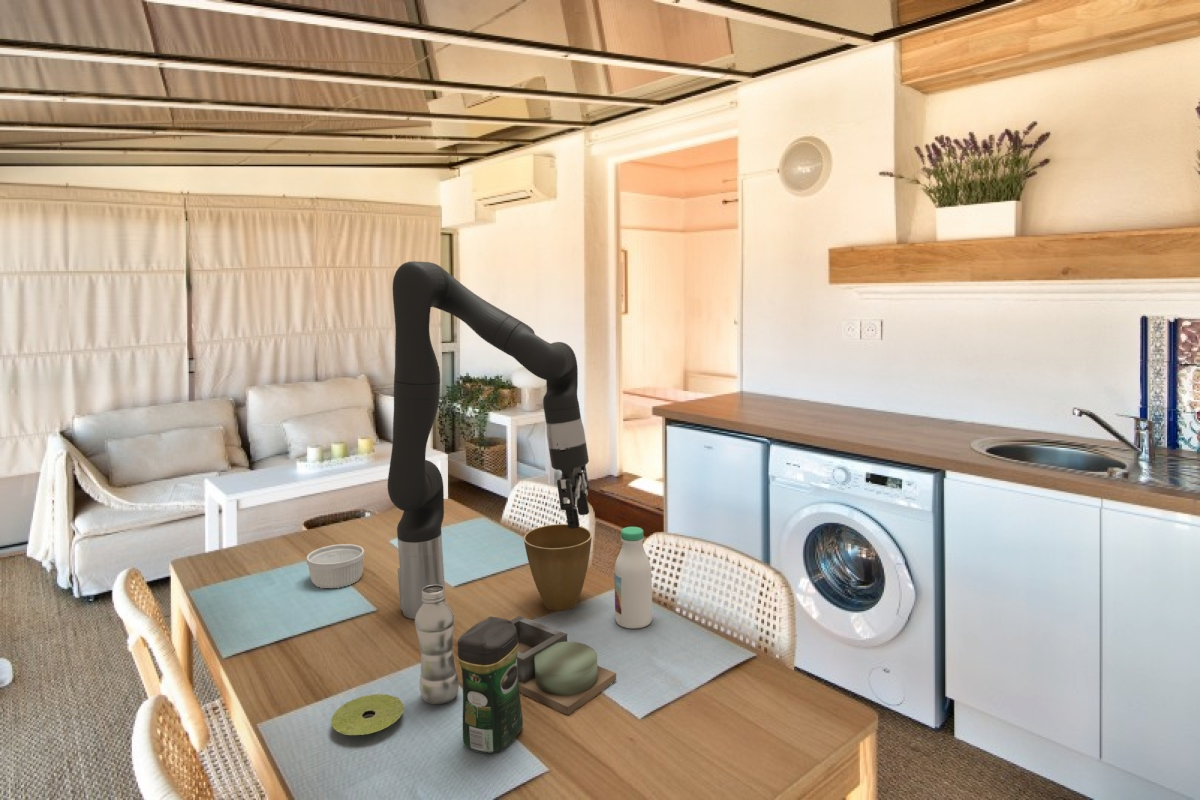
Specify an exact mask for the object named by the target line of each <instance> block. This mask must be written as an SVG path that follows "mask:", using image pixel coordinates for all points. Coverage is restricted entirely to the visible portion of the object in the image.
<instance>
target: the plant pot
mask: <svg viewBox="0 0 1200 800" xmlns="http://www.w3.org/2000/svg"><path fill="white" fill-rule="evenodd" d="M592 538H593V534H592V532H591V530H589V529H588V528H586V527H585V526H581V525H580V526H579V527H578V528H574V529H570V528H568V524H567V523H559V524H558V523H556V524H548V525H547V524H546V525H542V526H539V527H536V528H533V529H531V530H529V531H528V532H526V533H525V534H524V536H523V542H524V547H525V553H526V557H527V561H528V565H529V568H530V572H531V575H532V579H533V582H534V584H535V587H536V589H537V592H538V595H539V597H540V600H541V602H542V603H543V605H544V607H545V608H546V609H548V610H550V611H554V612H555V611H559V612H560V611H568V610H571V609H573V608H574V607H576V606H577V604H578V603H579V599H580V596H581V593H582V590H583V588H584V583H585V580H586V576H587V571H588V567H589V562H590V555H591V548H592V547H591V546H592Z"/></svg>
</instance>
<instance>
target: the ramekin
mask: <svg viewBox="0 0 1200 800" xmlns="http://www.w3.org/2000/svg"><path fill="white" fill-rule="evenodd" d="M364 558H365V550H364V548H363V547H362V546H360V545H358V544H357V545H356V544H351V543H342V544H341V543H339V544H332V545H326V546H323V547H320V548H317V549H314V550H313V551H310V553H308V554H307V556H306V565H307V567H308V571H309V576H310V580H311V582H312V584H313V585H314V586H316V588H319V587H320V588H319V589H323V588H337V589H339V588H338V587H342V588H344V587H343V586H346V587H348V586H347V585H349V586H352V585H354V584H355V582H356V583H357V582H358V581H359V580H360V579H361V578H362V575H363V573H364V571H363V569H364ZM353 583H354V584H353ZM351 584H352V585H351Z"/></svg>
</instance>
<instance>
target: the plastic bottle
mask: <svg viewBox="0 0 1200 800" xmlns="http://www.w3.org/2000/svg"><path fill="white" fill-rule="evenodd" d="M444 600H445V601H444ZM422 602H424V603H423V604H422V606H421V607H420V609H419V610H418V612H417V614H416V617H415V619H414V624H415V630H416V634H417V637H418V643H419V650H420V677H419V691H420V695H421V698H422V699H423V700H424V701H425V702H427V704H431V705H442V704H446V703H449V702H450V701H452V700H454V699H455V698H456V696H457V694H458V693H459V687H460V679H459V675H458V671H457V668H456V662H455V655H454V630H455V615H454V611H453V609H452V608H451V607H450V605H449V604H448V603H447V601H446V588H445V589H444V587H443V586H442V585H429V586H426V587H424V588H423V589H422Z"/></svg>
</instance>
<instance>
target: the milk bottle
mask: <svg viewBox="0 0 1200 800" xmlns="http://www.w3.org/2000/svg"><path fill="white" fill-rule="evenodd" d="M620 532H621V533H620V535H621V536H620V537H621V539H620V540H621V542H622V545H621V549H620V551H619V553H618V556H617V558H616V561H615V564H614V613H615V615H614V617H615V622H616V624H618V625H619V626H620V627H623V628H625V629H633V630H634V629H642V628H646V627H647V626H649V625H650V624H651V622H652V620H653V592H652V591H653V587H652V584H653V583H652V580H653V579H652V568H651V567H652V566H651V563H650V562H651V561H650V559H649V557H648V555H647V553H646V551H645V547H644V543H643V541H644V535H645V534H644V529H642V527H638V526H627V527H624V528H622V529H621V531H620Z"/></svg>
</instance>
